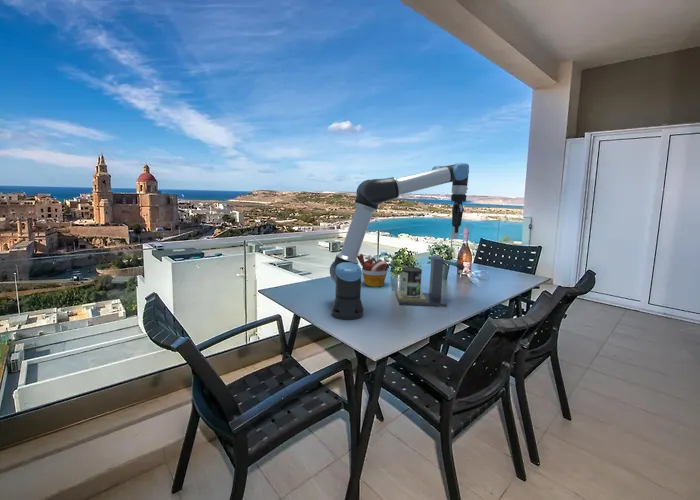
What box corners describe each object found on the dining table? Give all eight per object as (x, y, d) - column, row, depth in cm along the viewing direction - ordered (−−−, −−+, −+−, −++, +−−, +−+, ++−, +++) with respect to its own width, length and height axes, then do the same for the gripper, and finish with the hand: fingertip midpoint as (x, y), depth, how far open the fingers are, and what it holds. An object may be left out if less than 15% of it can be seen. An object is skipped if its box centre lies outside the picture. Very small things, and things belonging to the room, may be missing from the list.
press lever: (431, 262, 171) (434, 255, 171) (428, 259, 179) (430, 252, 178) (462, 271, 171) (465, 264, 171) (458, 268, 179) (460, 261, 179)
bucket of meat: (384, 280, 211) (385, 251, 208) (392, 287, 195) (394, 255, 192) (354, 281, 207) (355, 251, 204) (360, 289, 191) (361, 256, 188)
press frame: (399, 305, 164) (401, 260, 160) (395, 294, 182) (397, 253, 178) (446, 306, 164) (449, 261, 160) (438, 295, 181) (441, 255, 177)
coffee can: (423, 294, 174) (425, 268, 171) (415, 298, 166) (416, 272, 163) (406, 290, 180) (407, 266, 177) (397, 294, 172) (398, 269, 169)
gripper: (470, 194, 160) (466, 240, 164) (462, 194, 173) (458, 237, 177) (455, 193, 161) (451, 240, 164) (448, 193, 173) (444, 237, 177)
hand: (454, 238), depth 171 cm, fingers closed
